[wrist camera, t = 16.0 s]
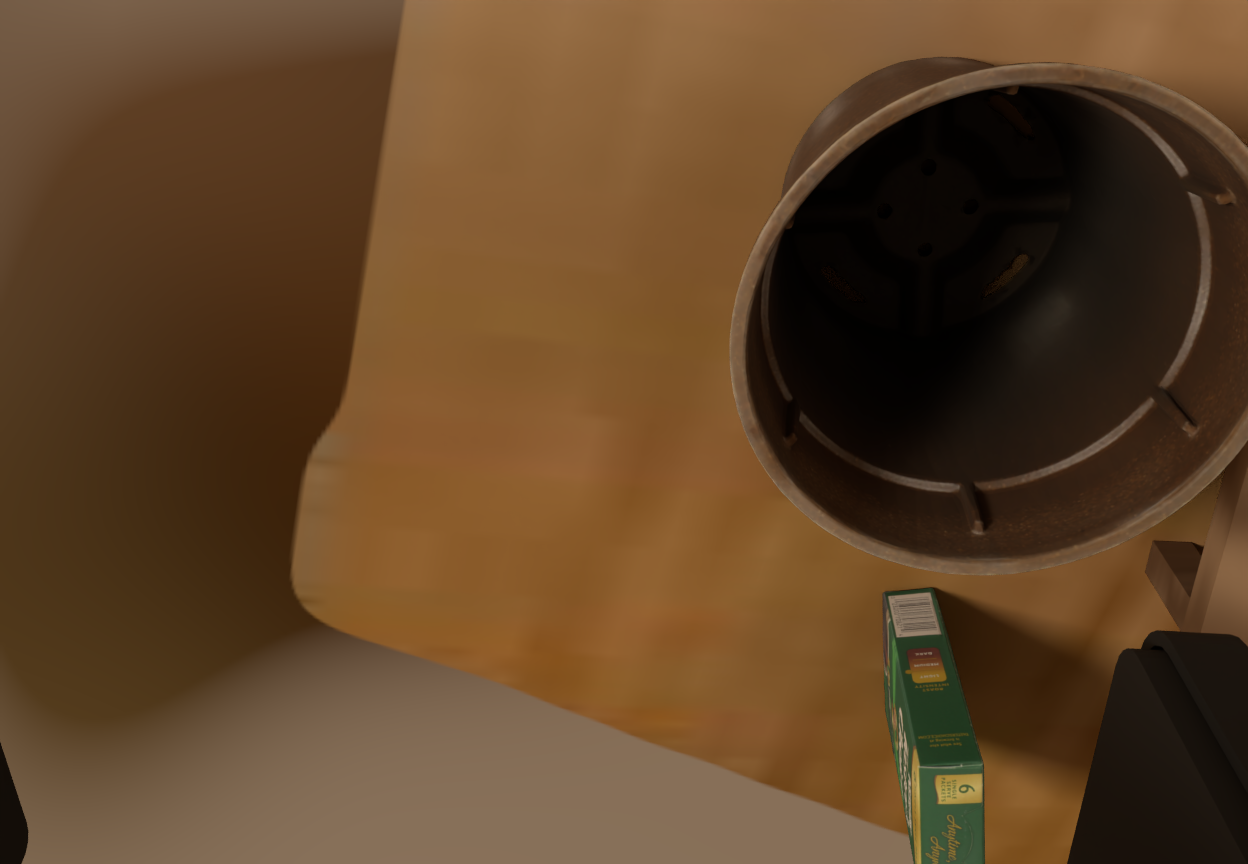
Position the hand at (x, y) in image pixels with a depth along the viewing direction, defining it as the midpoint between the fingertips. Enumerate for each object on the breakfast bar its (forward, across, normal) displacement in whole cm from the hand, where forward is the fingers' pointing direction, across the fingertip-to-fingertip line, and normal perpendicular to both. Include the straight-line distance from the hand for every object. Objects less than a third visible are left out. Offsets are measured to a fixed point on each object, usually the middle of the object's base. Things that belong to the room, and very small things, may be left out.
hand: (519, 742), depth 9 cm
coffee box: (+40, -12, +29) cm, 51 cm away
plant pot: (+40, -10, +6) cm, 42 cm away
